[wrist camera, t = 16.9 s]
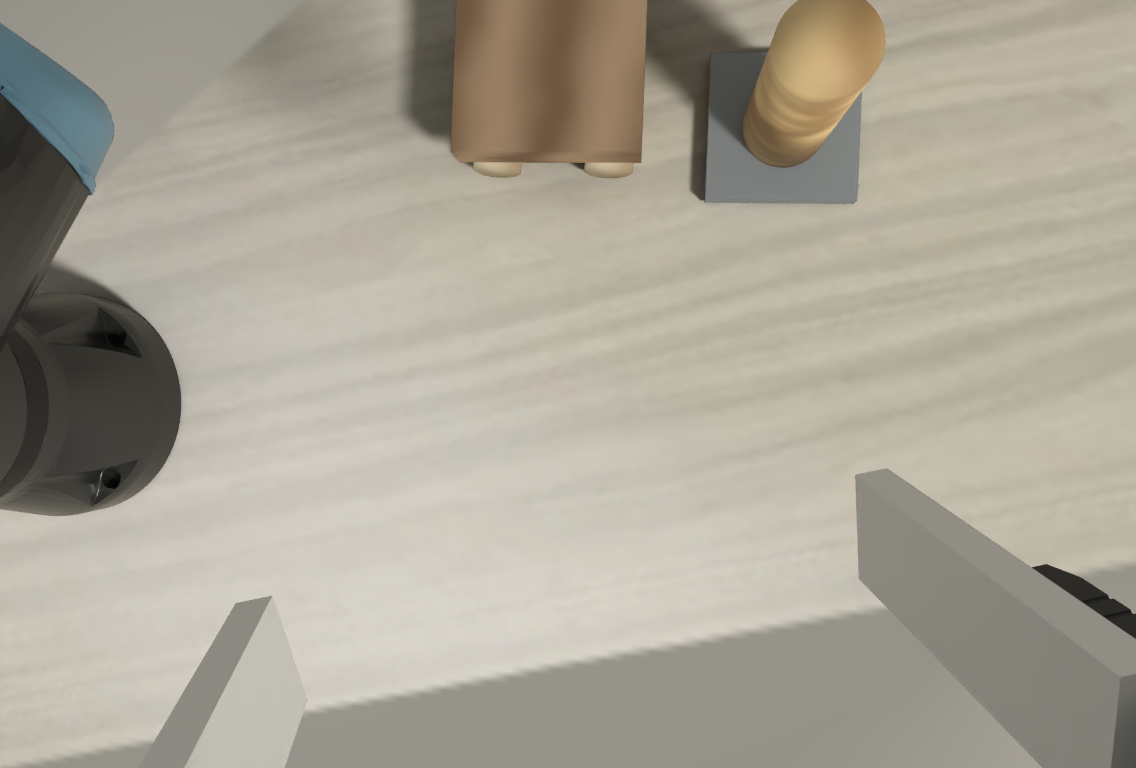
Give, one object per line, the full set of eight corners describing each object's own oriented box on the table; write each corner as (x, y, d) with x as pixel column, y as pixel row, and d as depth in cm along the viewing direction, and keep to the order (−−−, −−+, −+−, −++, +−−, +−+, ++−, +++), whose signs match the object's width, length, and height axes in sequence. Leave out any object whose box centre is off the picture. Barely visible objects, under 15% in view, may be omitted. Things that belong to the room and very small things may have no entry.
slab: (472, 177, 44) (450, 150, 39) (478, 24, 44) (457, -22, 39) (641, 178, 43) (640, 151, 38) (647, 20, 43) (648, -28, 38)
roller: (740, 168, 41) (771, 99, 31) (743, 86, 41) (774, -9, 31) (825, 167, 41) (883, 97, 31) (827, 84, 41) (887, -13, 31)
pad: (704, 202, 42) (705, 198, 41) (710, 59, 42) (711, 53, 41) (853, 203, 41) (857, 200, 40) (859, 57, 41) (863, 50, 40)
